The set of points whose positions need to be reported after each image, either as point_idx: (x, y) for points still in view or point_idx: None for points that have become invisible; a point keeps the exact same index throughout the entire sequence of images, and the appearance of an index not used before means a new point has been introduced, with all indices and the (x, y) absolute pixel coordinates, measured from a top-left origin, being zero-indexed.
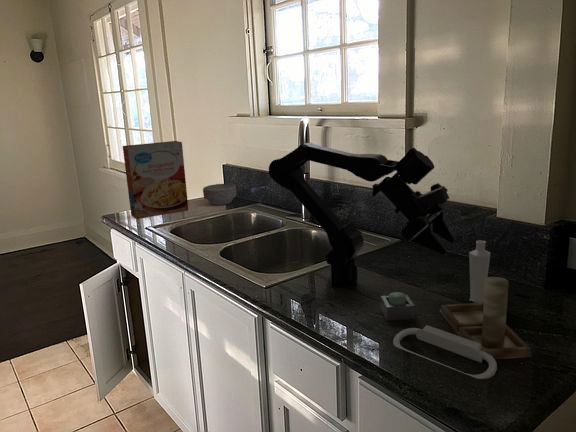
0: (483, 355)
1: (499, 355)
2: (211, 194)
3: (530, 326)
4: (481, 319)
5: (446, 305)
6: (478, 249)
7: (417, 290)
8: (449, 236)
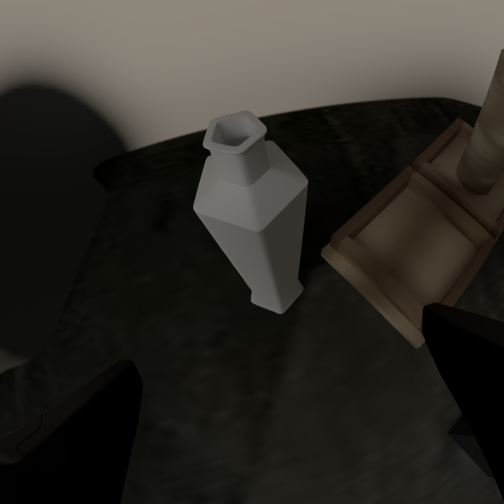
0: None
1: None
2: None
3: (329, 155)
4: (397, 228)
5: None
6: (267, 162)
7: (274, 490)
8: (119, 395)
